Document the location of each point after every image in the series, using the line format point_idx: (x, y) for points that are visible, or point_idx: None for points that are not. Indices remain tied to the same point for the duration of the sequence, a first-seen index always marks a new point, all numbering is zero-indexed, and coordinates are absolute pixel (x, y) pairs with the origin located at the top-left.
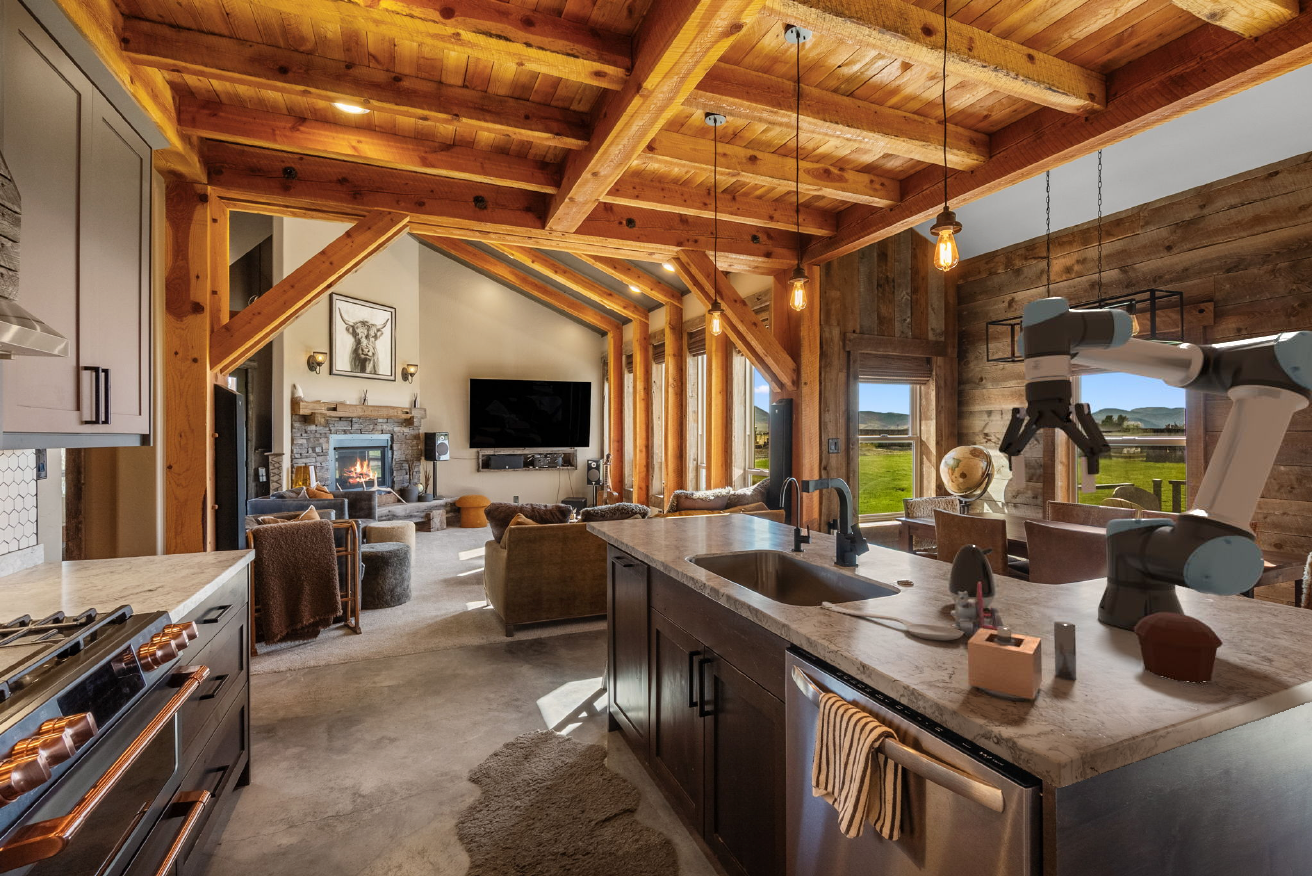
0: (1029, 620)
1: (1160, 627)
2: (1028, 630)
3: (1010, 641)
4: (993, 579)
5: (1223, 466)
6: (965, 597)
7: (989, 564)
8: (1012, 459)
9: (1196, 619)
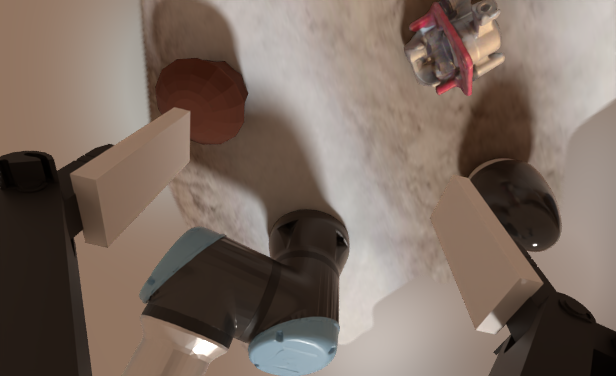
0: (405, 169)
1: (195, 75)
2: (391, 123)
3: None
4: None
5: None
6: (480, 12)
7: None
8: (526, 265)
9: None
